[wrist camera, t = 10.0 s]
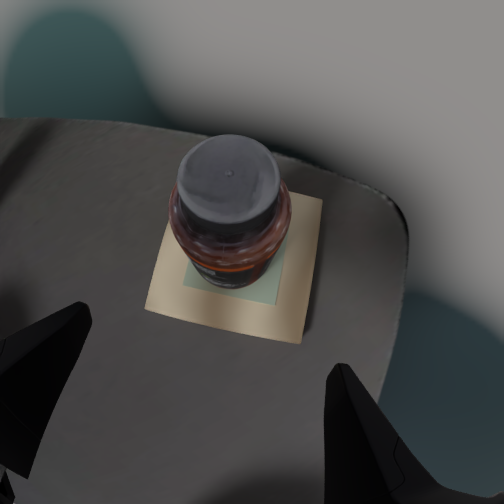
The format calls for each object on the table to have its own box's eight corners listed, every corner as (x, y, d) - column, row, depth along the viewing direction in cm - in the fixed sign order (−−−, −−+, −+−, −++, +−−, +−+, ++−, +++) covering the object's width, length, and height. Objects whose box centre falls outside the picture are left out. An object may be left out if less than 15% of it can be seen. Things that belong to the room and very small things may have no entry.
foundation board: (317, 206, 24) (323, 199, 22) (295, 342, 21) (300, 344, 19) (188, 179, 24) (185, 170, 22) (150, 310, 21) (144, 309, 19)
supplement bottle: (266, 213, 22) (296, 115, 11) (274, 287, 20) (323, 245, 9) (191, 217, 21) (158, 121, 10) (193, 293, 20) (148, 257, 9)
